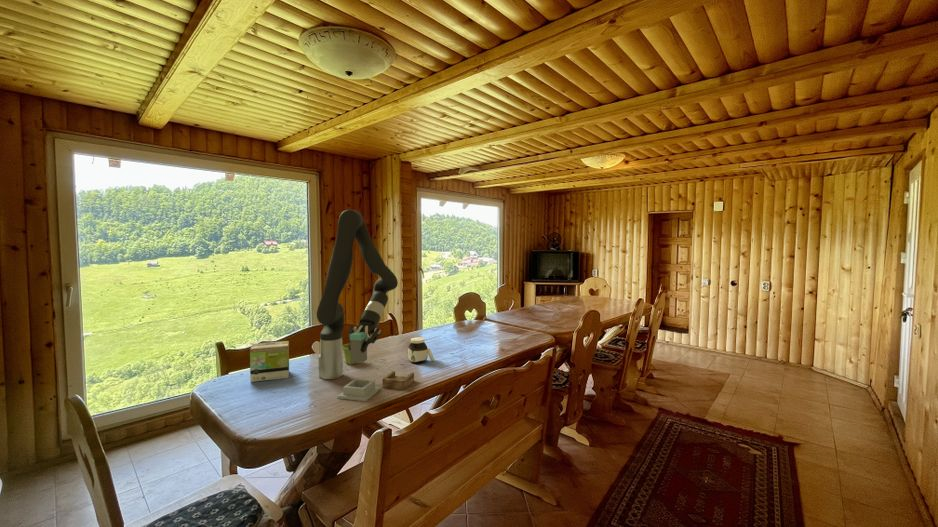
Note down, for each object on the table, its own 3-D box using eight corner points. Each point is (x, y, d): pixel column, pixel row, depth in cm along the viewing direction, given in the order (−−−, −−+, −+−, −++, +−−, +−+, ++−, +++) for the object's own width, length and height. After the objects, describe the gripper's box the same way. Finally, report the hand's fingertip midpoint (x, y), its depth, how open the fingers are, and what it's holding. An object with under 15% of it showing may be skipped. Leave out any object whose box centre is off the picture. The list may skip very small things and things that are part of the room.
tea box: (250, 383, 161) (249, 349, 160) (252, 375, 170) (251, 343, 169) (289, 378, 167) (288, 345, 166) (289, 371, 176) (289, 339, 175)
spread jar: (405, 361, 191) (405, 338, 190) (424, 356, 198) (423, 334, 198) (419, 366, 182) (419, 343, 181) (438, 361, 190) (438, 338, 189)
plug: (350, 362, 147) (349, 334, 147) (356, 358, 152) (356, 331, 151) (361, 363, 146) (360, 335, 145) (367, 359, 151) (367, 332, 150)
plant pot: (358, 365, 183) (358, 348, 183) (339, 365, 183) (339, 348, 183) (364, 359, 193) (364, 343, 192) (346, 359, 193) (345, 343, 192)
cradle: (382, 387, 156) (382, 379, 156) (392, 378, 166) (392, 371, 166) (405, 389, 154) (405, 381, 154) (414, 380, 164) (414, 372, 163)
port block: (337, 398, 145) (337, 388, 145) (353, 386, 157) (353, 377, 157) (365, 401, 143) (365, 391, 142) (380, 389, 154) (380, 379, 154)
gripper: (353, 308, 157) (336, 344, 146) (384, 310, 153) (368, 347, 142) (361, 318, 162) (344, 354, 152) (391, 320, 158) (375, 357, 147)
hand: (356, 350), depth 147 cm, fingers closed on plug, 4 cm apart
